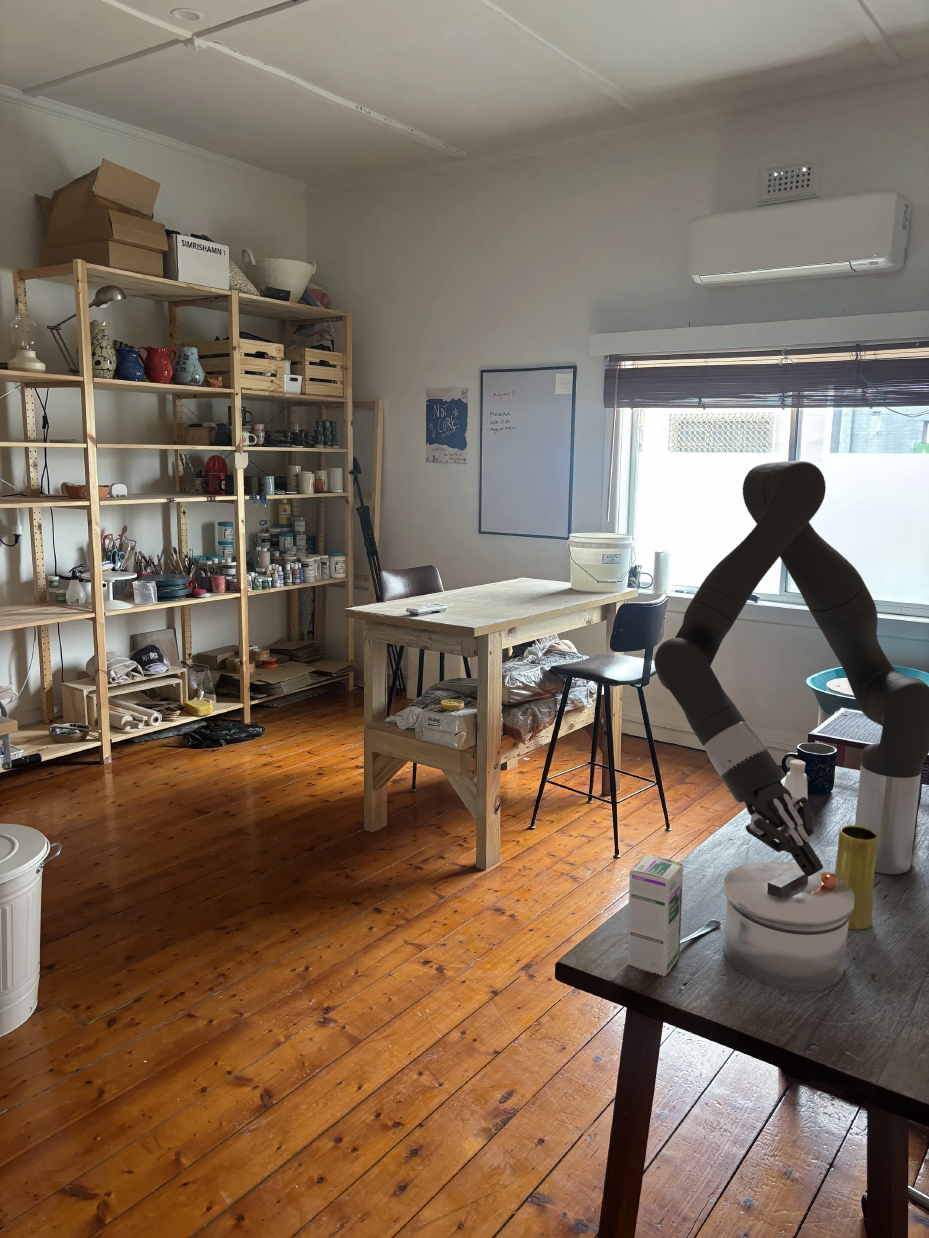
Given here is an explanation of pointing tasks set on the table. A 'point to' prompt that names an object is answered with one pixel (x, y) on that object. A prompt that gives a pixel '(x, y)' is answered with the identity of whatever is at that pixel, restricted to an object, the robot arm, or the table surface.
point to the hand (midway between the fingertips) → (815, 872)
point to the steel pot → (785, 951)
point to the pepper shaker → (797, 779)
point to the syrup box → (654, 914)
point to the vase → (858, 870)
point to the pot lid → (788, 894)
